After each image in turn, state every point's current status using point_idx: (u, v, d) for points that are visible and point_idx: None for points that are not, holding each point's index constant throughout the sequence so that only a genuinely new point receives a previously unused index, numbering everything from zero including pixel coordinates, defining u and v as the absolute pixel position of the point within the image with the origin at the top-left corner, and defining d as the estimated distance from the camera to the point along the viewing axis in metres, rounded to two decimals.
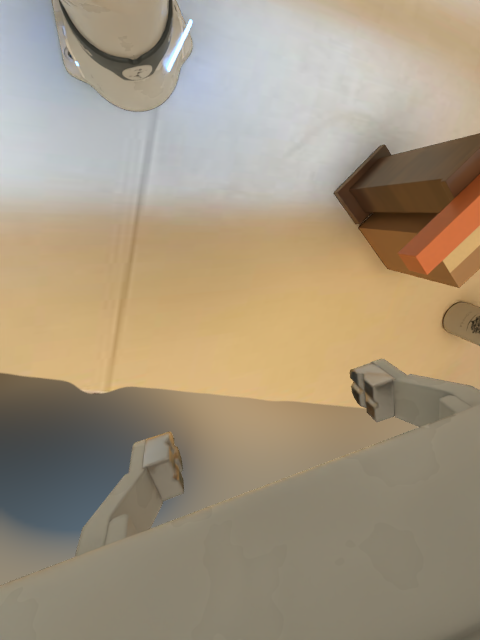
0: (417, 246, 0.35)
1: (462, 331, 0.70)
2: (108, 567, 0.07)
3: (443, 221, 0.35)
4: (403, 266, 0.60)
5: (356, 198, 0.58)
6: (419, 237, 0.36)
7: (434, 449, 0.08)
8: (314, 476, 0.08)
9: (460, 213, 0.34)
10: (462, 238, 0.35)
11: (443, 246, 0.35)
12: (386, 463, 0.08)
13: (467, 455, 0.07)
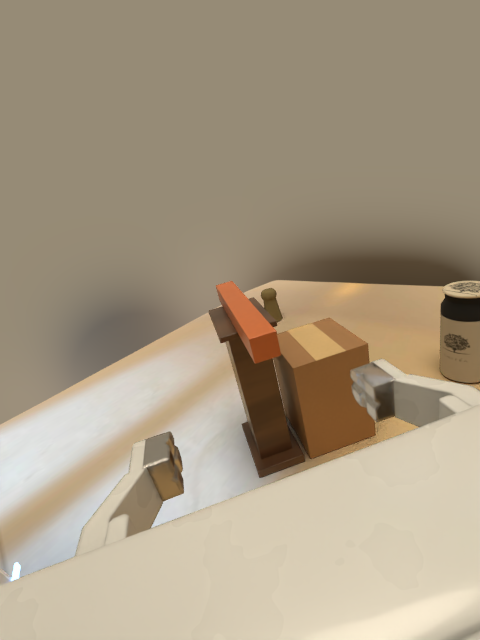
0: (248, 344, 0.33)
1: (473, 358, 0.56)
2: (109, 567, 0.07)
3: (240, 330, 0.37)
4: (360, 408, 0.50)
5: (272, 452, 0.52)
6: (247, 346, 0.35)
7: (434, 449, 0.08)
8: (313, 476, 0.08)
9: (236, 318, 0.38)
10: (258, 315, 0.37)
11: (256, 323, 0.35)
12: (386, 463, 0.08)
13: (467, 455, 0.07)
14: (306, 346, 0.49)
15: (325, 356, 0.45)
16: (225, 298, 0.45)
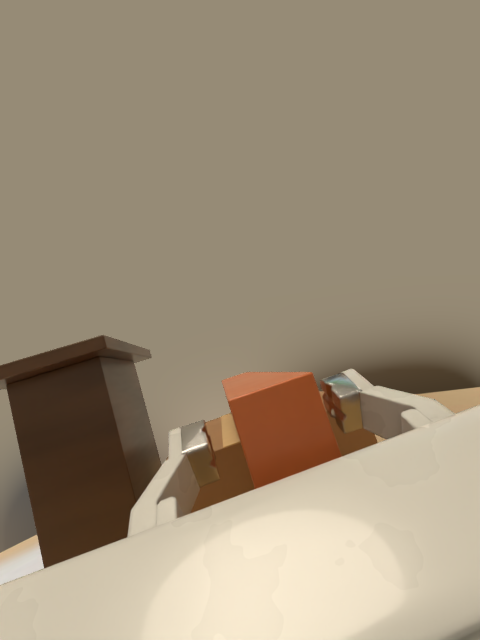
0: None
1: None
2: (108, 567, 0.07)
3: None
4: None
5: None
6: None
7: (434, 449, 0.08)
8: (314, 476, 0.08)
9: None
10: (273, 373, 0.16)
11: (262, 381, 0.13)
12: (386, 463, 0.08)
13: (467, 455, 0.07)
14: (230, 429, 0.22)
15: None
16: (225, 382, 0.25)
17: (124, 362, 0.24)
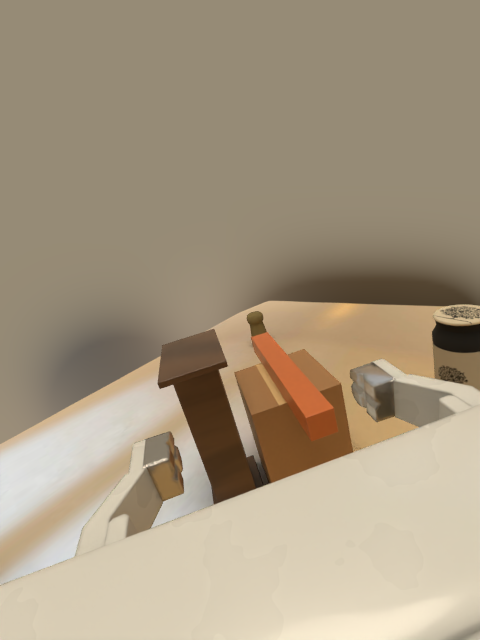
0: (302, 419, 0.32)
1: None
2: (108, 567, 0.07)
3: (289, 399, 0.36)
4: None
5: None
6: (299, 419, 0.33)
7: (434, 449, 0.08)
8: (314, 476, 0.08)
9: (284, 386, 0.36)
10: (308, 383, 0.36)
11: (308, 395, 0.33)
12: (386, 463, 0.08)
13: (467, 455, 0.07)
14: (272, 386, 0.43)
15: None
16: (266, 356, 0.44)
17: None
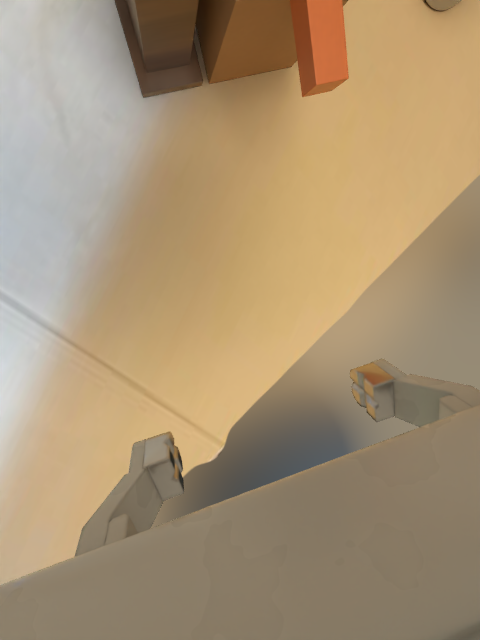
0: (307, 70, 0.26)
1: None
2: (108, 567, 0.07)
3: (301, 12, 0.25)
4: (293, 46, 0.37)
5: (163, 68, 0.39)
6: (301, 57, 0.27)
7: (434, 449, 0.08)
8: (314, 476, 0.08)
9: None
10: None
11: (330, 34, 0.25)
12: (386, 463, 0.08)
13: (467, 455, 0.07)
14: None
15: None
16: None
17: None
